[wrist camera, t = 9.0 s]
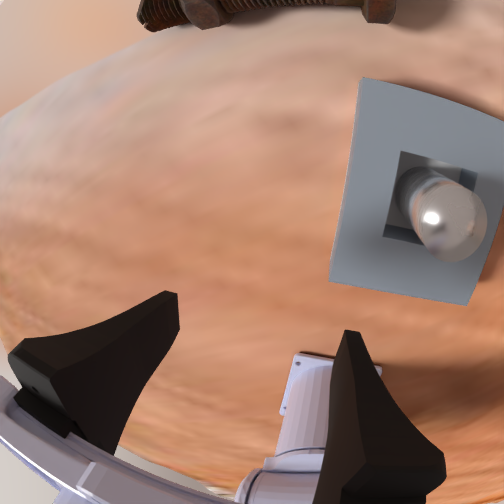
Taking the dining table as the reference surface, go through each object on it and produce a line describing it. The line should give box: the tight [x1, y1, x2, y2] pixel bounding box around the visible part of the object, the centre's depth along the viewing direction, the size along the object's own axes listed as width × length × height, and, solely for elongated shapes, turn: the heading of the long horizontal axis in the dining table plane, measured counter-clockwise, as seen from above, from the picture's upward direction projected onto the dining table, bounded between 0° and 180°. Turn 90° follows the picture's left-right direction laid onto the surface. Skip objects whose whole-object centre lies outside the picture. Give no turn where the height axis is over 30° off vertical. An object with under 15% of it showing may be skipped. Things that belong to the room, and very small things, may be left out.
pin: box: [395, 166, 487, 262], centre depth 14 cm, size 4×4×6 cm
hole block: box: [329, 77, 504, 306], centre depth 16 cm, size 12×10×3 cm
